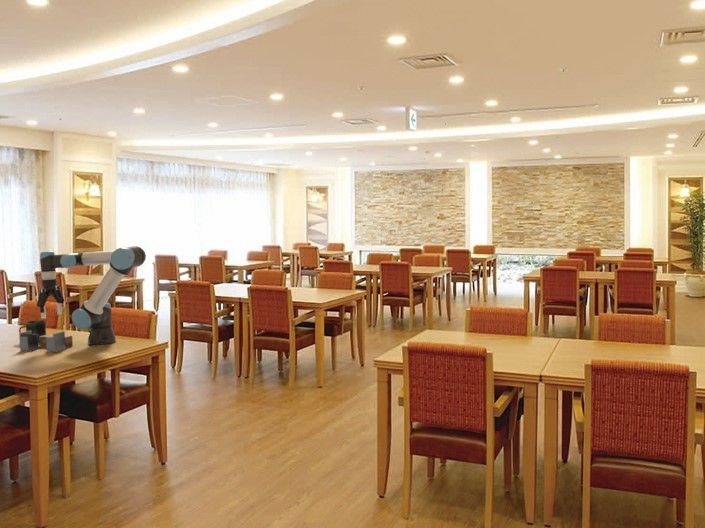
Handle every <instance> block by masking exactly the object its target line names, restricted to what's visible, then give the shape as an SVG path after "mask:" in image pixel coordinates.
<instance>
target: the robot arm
mask: <svg viewBox="0 0 705 528" xmlns="http://www.w3.org/2000/svg"><path fill="white" fill-rule="evenodd" d="M146 257H147V256H146V252H145V251H144V249H143V248H142V247H140V246H135V245H133V246H121V247H117V248H116V249H115V250H104V251H103V250H102V251H87V252H86V251H85V252H74V253H65V254H55V252H54V251H53V250H50V251H41V252H40V253H39V264H40V273H41V274H40V275H41V279H42V280H41V287H43V288H40V289H39V293H38V294H39V295H38V300H37V303H36V306H37V307H38V308H39V311H40V318H41V319H47V310H46V303H47V301H48V298H49V297H50V296H52V297H53V299H55V301H56V302H57V303H56V312H57V313H56V314H57V316H59V315H60V316H62V315H63V303H64V302H65V299H64V296H63V293H62V291H61V288H60V286H59V285H58V286H57V284H58V283H57V272H56V269H70V268H74V267H83V266H100V265H101V266H102V265H103V266H104V265H109V269H108V270H107V272H105V275H103V276H104V277H103V278H102V279H101V280H100V282H99V283H98V285H97V287H96V288H95V290H94V292H93V293H92V295H91V296H90V297H89V299H88V300H85V301H83V303H82V304H81V306H80V307H79V308H76V309H75V310H73V312H72V314H71V320H72V324H73V326H74V327H75V328H77V329H78V330H88V329H90V331H89V334H88V338H87V344H88V345H94V346H95V345H107V344H112V343H116V342H117V338H116V335H115V332H114V329H113V325H112V324H113V321H112V320H113V319H112V318H113V317H112V305H111V303H110V302H108V301H109V300H110V298H111V296H112V295H113V293H114V292H115V290H116V288H118V286H119V284H120V282H121V281H122V280H123V278H124V277H125V276H129V275H130V273H131V272H132V270H133V268H138V267H140V266H142V265H143V264H144V263H145V262H146Z"/></svg>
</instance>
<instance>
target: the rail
mask: <svg viewBox="0 0 705 528" xmlns="http://www.w3.org/2000/svg"><path fill="white" fill-rule="evenodd" d="M46 337H53V334H50V335H49V334H46V335H43V336H40V337H39V348H41V347H42V348H47V340H46ZM70 347H73V335H65V349H67V348H70Z"/></svg>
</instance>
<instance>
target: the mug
mask: <svg viewBox="0 0 705 528" xmlns="http://www.w3.org/2000/svg"><path fill="white" fill-rule="evenodd" d="M46 322H47V321H46V320H44V319H43V320H41V319H39V320H30V321H25V322H24V324H25V325H22V326H20V327H19V329H18V331H19V333H22V332H21V331H22V330H21V329H23V328H24V329H25V332H26V331H30V330H32V334H38V341H39V337H40V336H43V335H47V329H46Z"/></svg>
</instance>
